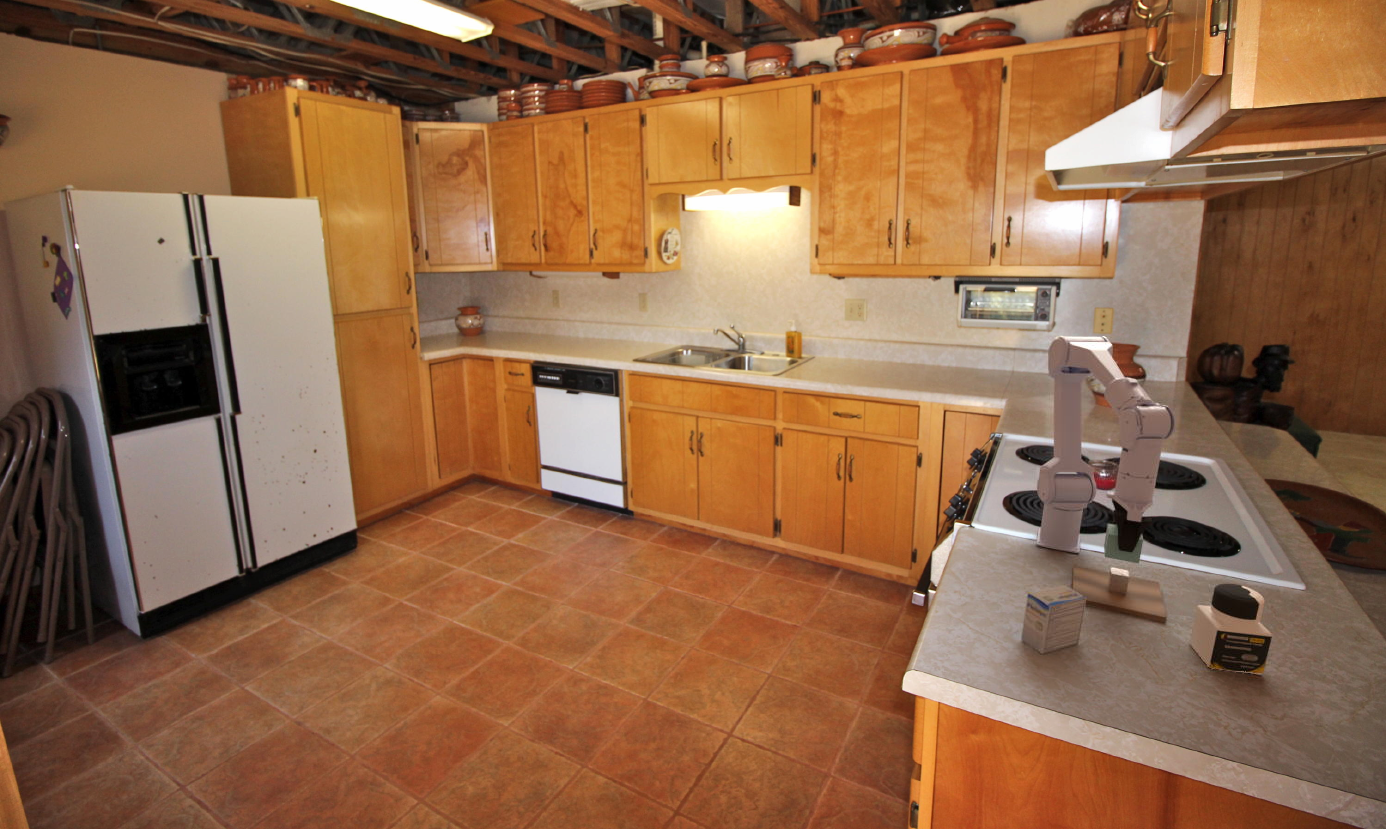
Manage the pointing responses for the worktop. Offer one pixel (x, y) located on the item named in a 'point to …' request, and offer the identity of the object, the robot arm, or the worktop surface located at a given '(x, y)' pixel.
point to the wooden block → (1118, 580)
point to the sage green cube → (1113, 549)
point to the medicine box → (1053, 618)
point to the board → (1136, 602)
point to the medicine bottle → (1232, 630)
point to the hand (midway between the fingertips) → (1124, 544)
